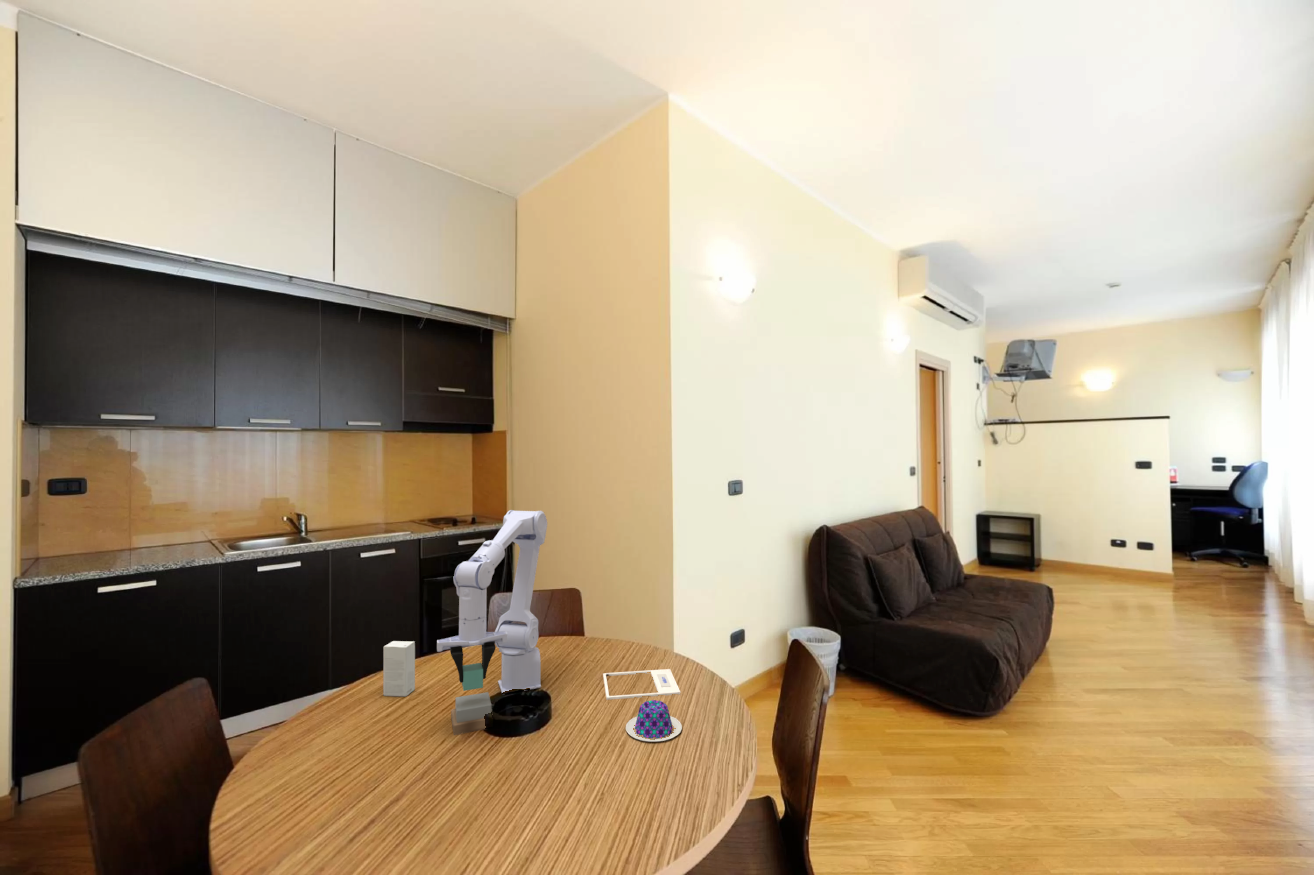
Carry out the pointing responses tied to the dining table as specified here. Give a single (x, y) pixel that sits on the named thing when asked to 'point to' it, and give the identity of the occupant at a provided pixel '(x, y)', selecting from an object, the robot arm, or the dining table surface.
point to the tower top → (472, 707)
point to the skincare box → (399, 668)
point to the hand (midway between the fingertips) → (472, 678)
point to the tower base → (466, 724)
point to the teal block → (472, 676)
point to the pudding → (653, 722)
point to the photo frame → (661, 679)
